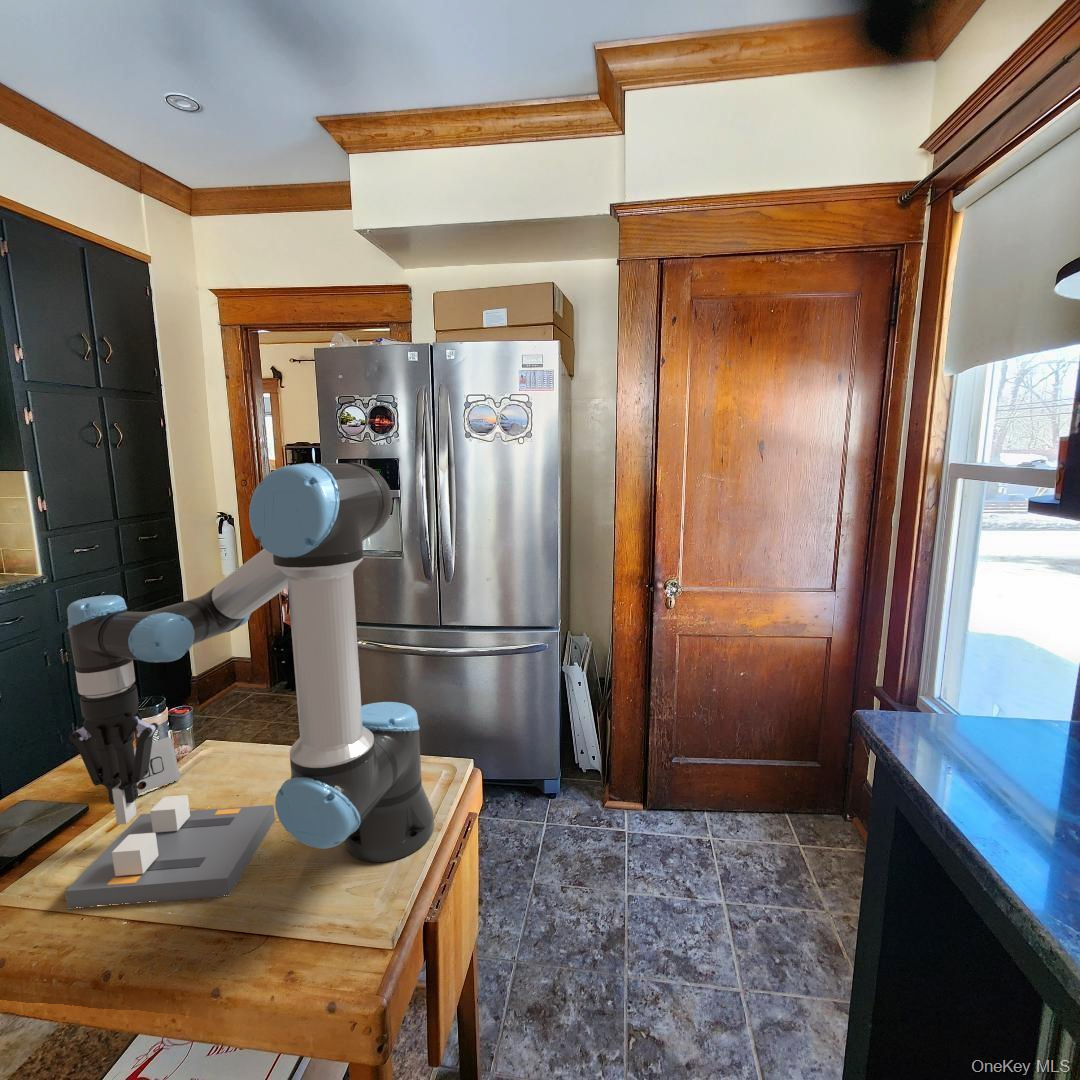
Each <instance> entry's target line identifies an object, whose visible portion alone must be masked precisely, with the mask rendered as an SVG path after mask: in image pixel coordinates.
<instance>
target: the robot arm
mask: <svg viewBox="0 0 1080 1080" xmlns="http://www.w3.org/2000/svg"><path fill="white" fill-rule="evenodd" d="M392 496H393V495H392V492H391V488H390V487H389V485H388V483H387V481H386V480H385V478H384V477H383V476H382V475H381V474H380V473H379V472H377V470H375V469H373V468H372V467H369V466H367V465H366V464H361V463H356V462H343V463H341V462H340V463H336V462H335V463H309V462H305V463H297V464H292V465H285V466H281V467H278V468H275V469H274V470H272V471H271V472H269V473H268V474H266V475H265V476H264V478H262V480H261V481H260V482H259V483H258V484H257V486H256V488H255V489H254V491H253V493H252V496H251V499H250V503H249V510H248V511H249V514H248V517H249V524H250V525H249V526H250V528H251V531H252V534H253V536H254V538H255V540H259V541H260V543H259V545H260V546H261V547H262V548H263V549H262V550H260V551H259V552H258V553H256V554H254V555H253V556H252V557H251V558H250V559H249V560H247V561H246V562H245V563H243V564H242V565H241V566H239V567H238V568H237V569H236V570H234V571H233V572H231V573H230V574H229V575H228V576H226V577H225V578H224V579H223V580H221V581H220V582H218V583H217V584H216V585H215V586H213V587H212V588H211V589H209V590H208V591H207V592H206V593H204V594H203V595H200V596H198V597H195V598H190V599H188V600H184V601H182V602H178V603H175V604H171V605H167V606H164V607H161V608H157V609H154V610H151V611H150V610H149V611H130V610H128V607H127V604H126V602H125V599H124V598H123V597H122V596H120V595H115V594H109V595H108V594H107V595H98V596H96V595H95V596H90V597H86V598H80V599H77V600H75V601H73V602H71V603H70V604H68V607H67V609H66V610H67V613H66V614H67V620H68V621H67V622H68V625H67V630H68V634H69V635H68V636H69V641H70V646H71V652H72V657H73V665H74V666H75V667H74V668H75V670H74V671H75V677H76V678H75V679H76V685H77V693H78V695H80V697H79V704H80V710H81V711H80V712H81V716H82V718H83V719H84V720H83V723H82V726H81V727H80V728H78V729H77V730H75V731H74V732H72V733H71V734H70V735H68V739H69V741H71V742H72V743H73V745H74V746H75V747H76V748H77V750H78V753H79V755H80V756H81V758H82V762H83V764H84V767H85V768H86V770H87V773H88V775H89V777H90V780H91V782H92V784H93V786H95V787H96V786H97V787H98V786H99V785H101V786H104V787H105V788H106V789H107V794H108V801H109V804H110V805H113V806H114V812H115V819H116V824H117V825H127V824H128V823H129V822H130V821H131V820H132V819H133V818H134V817H135V816H136V815H137V809H136V800H137V799H138V798H139V797H138V789H137V783H138V782H139V781H140V780H141V779H142V778H143V777H145V776H146V775H147V774H148V770H149V763H150V755H151V748H152V742H154V740H153V739H154V735H155V733H156V731H157V730H158V728H159V724H158V723H157V722H152V723H148V722H146V721H144V720H143V717H142V714H141V713H140V712H139V695H138V687H137V685H136V684H135V682H136V676H135V675H136V674H135V667H134V661H142V662H147V663H169V662H170V663H171V662H174V661H178V660H179V659H181V658H183V656H185V654H186V653H187V652H188V651H189V650H190V649H191V648H192V646H193V645H196V644H199V643H200V642H203V641H205V640H208V639H211V638H214V637H216V636H219V635H221V634H225V633H229V632H232V631H234V630H236V629H237V628H239V627H241V626H244V625H245V624H246V623H247V622H248V621H249V619H250V617H251V614H252V613H253V612H254V611H256V610H258V609H260V607H262V606H263V605H264V604H266V603H267V602H269V601H270V600H271V599H273V598H274V597H276V596H277V595H278V594H280V593H281V592H282V591H284V590H285V589H287V591H288V592H287V593H288V603H289V616H290V617H289V618H290V628H291V630H290V631H291V639H292V642H291V643H292V653H293V654H292V655H293V665H294V666H293V668H294V678H295V691H296V702H297V713H298V714H297V715H298V716H297V717H298V728H299V737H298V739H297V740H296V741H295V742H294V743H293V744H292V746H291V747H290V749H289V761H290V774H291V775H290V778H288V779H286V780H285V781H284V782H283V783H282V784H281V787H280V788H279V789H278V791H277V792H276V796H275V801H274V805H275V811H276V815H277V817H278V820H279V822H280V823H281V825H282V826H283V828H284V829H285V831H287V833H289V834H290V835H291V836H292V837H293V838H294V839H295V840H296V841H298V842H299V843H301V844H303V845H306V846H308V847H311V848H313V849H314V848H315V849H322V850H323V849H331V848H334V847H337V846H339V845H341V844H342V843H344V842H345V846H346V849H347V851H348V852H349V854H351V856H353V857H354V858H357V859H359V860H361V861H364V862H365V861H366V862H371V863H384V862H390V861H395V860H398V859H402V858H405V857H407V856H409V855H411V854H412V853H415V852H416V851H418V850H419V849H420V848H422V847H423V846H424V845H425V844H427V842H428V841H429V840H430V839H431V837H432V835H433V832H434V829H435V820H434V810H433V807H432V806H431V803H430V801H429V798H428V795H427V793H426V791H425V789H424V787H423V784H422V768H421V767H422V765H421V764H422V763H421V761H422V760H421V743H420V725H419V718H418V712H417V711H416V710H415V708H413V707H412V706H411V705H409V704H406V703H403V702H402V703H401V702H398V701H395V702H394V701H382V702H381V701H379V702H372V703H367V704H363V705H362V698H361V696H362V695H361V680H360V678H361V677H360V665H359V648H358V647H359V646H358V635H357V634H358V632H357V630H358V629H357V615H356V613H357V612H356V600H355V587H354V586H355V585H354V570H355V569H356V568H357V567H358V566H359V564H361V562H362V561H363V560H364V548H363V542H364V541H365V540H367V539H368V538H370V537H372V536H373V535H375V534H376V533H378V532H379V531H380V530H381V529H382V528H383V527H385V525H386V523H388V520H389V519H390V517H391V513H392V510H393V509H392V508H393V497H392ZM136 731H137V734H136V737H137V738H138V739H137V740H136V746H135V748H136V752H135V754H134V749H135V748H134V742H135V733H136Z"/></svg>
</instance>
